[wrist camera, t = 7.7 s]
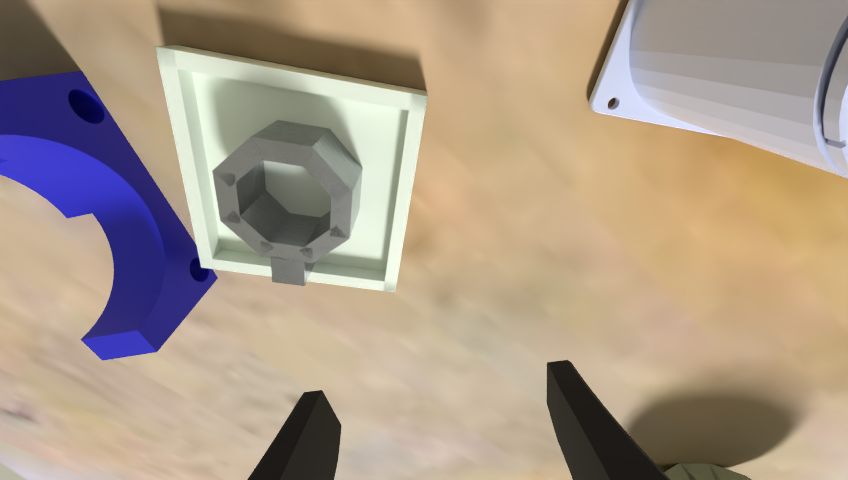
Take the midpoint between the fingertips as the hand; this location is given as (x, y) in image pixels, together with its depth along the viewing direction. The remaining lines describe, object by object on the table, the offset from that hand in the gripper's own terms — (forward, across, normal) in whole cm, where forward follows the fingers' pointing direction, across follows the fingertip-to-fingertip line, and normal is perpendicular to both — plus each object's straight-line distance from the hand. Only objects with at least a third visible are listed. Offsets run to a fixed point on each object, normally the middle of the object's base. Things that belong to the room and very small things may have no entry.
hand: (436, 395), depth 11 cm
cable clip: (+11, +16, -5) cm, 20 cm away
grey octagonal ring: (+10, +6, -4) cm, 12 cm away
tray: (+10, +6, -4) cm, 13 cm away
